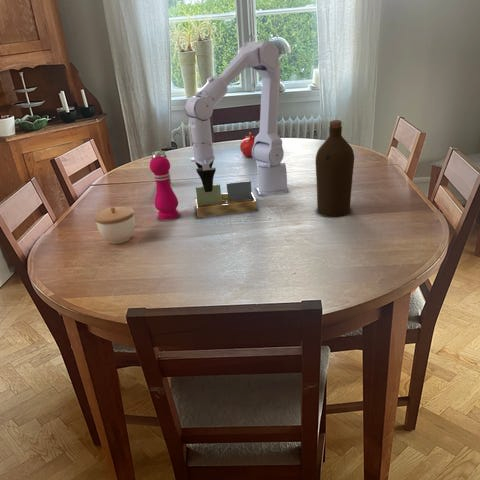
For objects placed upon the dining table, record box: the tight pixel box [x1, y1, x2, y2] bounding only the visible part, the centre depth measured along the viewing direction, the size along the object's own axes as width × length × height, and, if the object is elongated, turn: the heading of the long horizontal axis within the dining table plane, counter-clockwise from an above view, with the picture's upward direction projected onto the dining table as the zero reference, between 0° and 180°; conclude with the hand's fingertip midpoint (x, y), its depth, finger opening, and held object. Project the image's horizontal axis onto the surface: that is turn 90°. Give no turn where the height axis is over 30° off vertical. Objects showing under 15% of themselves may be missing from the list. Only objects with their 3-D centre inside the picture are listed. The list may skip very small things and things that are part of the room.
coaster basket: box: [194, 192, 258, 218], centre depth 150 cm, size 18×11×3 cm, turn 97°
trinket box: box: [93, 206, 136, 244], centre depth 135 cm, size 11×11×9 cm
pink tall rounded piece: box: [150, 150, 172, 185], centre depth 173 cm, size 5×5×12 cm
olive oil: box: [315, 119, 355, 218], centre depth 135 cm, size 11×11×25 cm
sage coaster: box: [195, 183, 222, 206], centre depth 148 cm, size 8×1×8 cm, turn 97°
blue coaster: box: [225, 180, 253, 202], centre depth 149 cm, size 8×1×8 cm, turn 97°
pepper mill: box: [149, 150, 180, 221], centre depth 144 cm, size 7×7×20 cm
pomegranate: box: [239, 131, 256, 158], centre depth 199 cm, size 10×10×9 cm
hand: (207, 187), depth 147 cm, fingers open, 7 cm apart
